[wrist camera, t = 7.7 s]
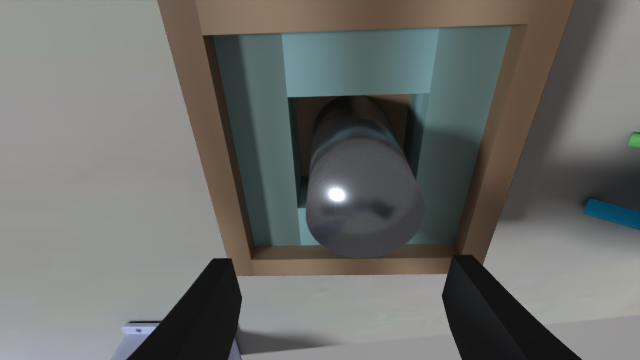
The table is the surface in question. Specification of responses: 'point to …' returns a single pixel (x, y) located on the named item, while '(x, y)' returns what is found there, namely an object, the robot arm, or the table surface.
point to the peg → (360, 182)
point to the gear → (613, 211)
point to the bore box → (372, 81)
